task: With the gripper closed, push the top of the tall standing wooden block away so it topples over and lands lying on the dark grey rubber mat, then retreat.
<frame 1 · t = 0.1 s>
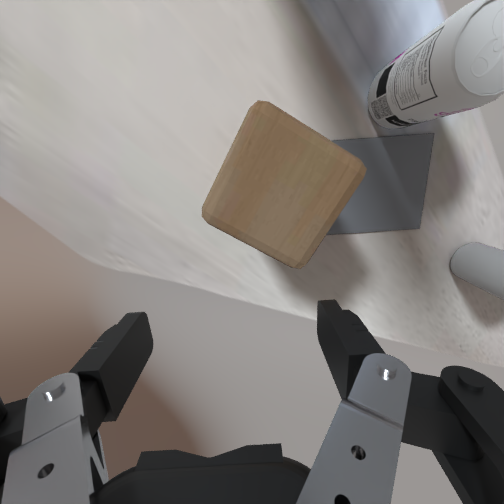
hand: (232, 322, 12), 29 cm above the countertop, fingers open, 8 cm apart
supplement can: (394, 97, 34), on the countertop
beverage can: (465, 258, 42), on the countertop
mat: (366, 187, 38), on the countertop
wooden block: (268, 180, 38), on the countertop, touching mat
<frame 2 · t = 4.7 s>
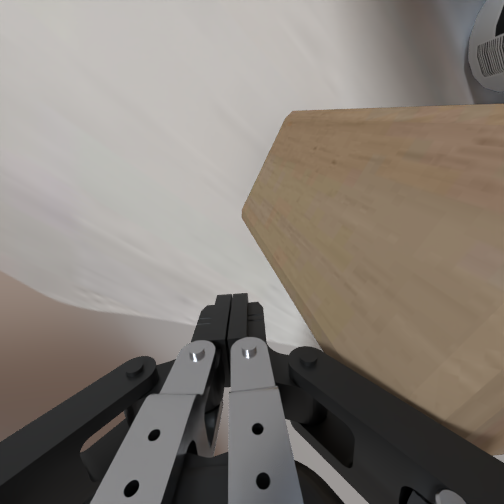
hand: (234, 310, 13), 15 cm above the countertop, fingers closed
wooden block: (302, 186, 24), point 2 cm above the countertop, touching hand, mat
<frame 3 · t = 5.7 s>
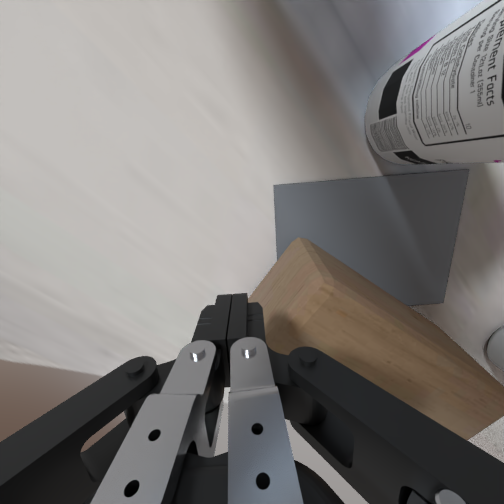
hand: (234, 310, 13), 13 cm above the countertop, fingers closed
supplement can: (406, 115, 22), on the countertop
mat: (364, 248, 25), on the countertop
wooden block: (268, 293, 21), point 6 cm above the countertop, touching mat
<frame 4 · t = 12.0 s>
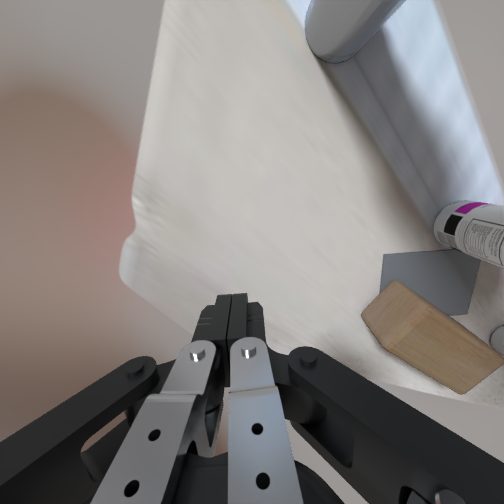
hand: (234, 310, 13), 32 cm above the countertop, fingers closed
supplement can: (453, 222, 44), on the countertop
beverage can: (502, 334, 52), on the countertop
mat: (426, 285, 48), on the countertop
wooden block: (387, 309, 43), point 5 cm above the countertop, touching mat
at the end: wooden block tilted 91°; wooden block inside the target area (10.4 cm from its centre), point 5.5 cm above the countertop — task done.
